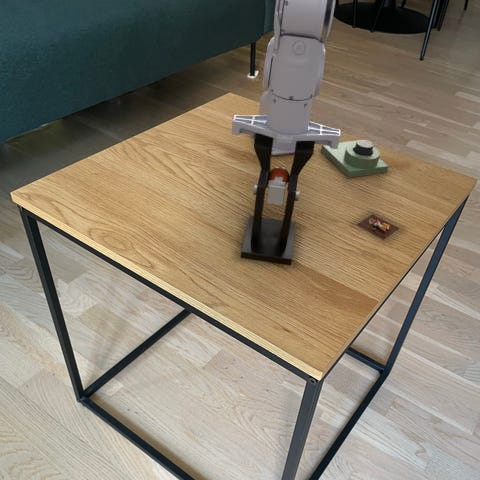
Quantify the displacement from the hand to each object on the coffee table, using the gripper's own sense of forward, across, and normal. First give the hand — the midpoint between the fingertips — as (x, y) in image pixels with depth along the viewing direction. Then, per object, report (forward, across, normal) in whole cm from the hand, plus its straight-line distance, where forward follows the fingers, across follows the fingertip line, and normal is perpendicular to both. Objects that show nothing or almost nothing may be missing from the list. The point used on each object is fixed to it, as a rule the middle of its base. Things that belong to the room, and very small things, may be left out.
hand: (277, 185), depth 73 cm
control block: (+5, +13, +20) cm, 24 cm away
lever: (-1, 0, -4) cm, 4 cm away
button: (+2, +14, +19) cm, 23 cm away
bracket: (+4, 0, -8) cm, 9 cm away
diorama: (+5, +16, 0) cm, 17 cm away
